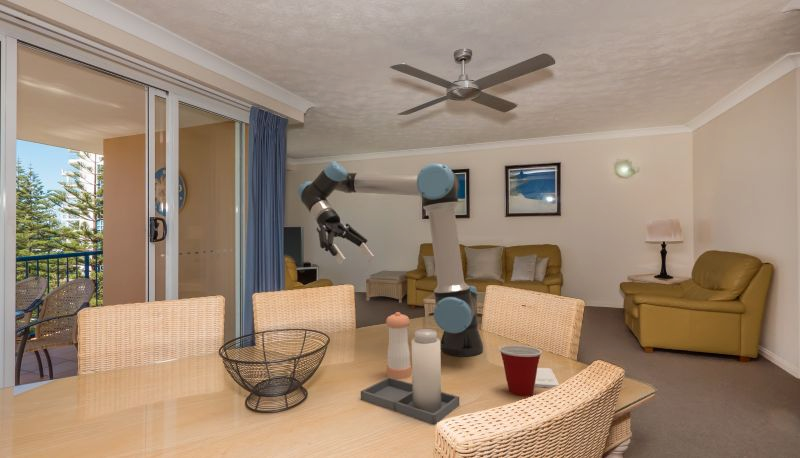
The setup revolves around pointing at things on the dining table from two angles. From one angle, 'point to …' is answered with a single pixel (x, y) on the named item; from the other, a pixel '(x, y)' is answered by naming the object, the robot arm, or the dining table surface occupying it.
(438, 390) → the salt shaker
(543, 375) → the external hard drive
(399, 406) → the shaker caddy
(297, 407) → the dining table surface
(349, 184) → the robot arm
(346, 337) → the dining table surface
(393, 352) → the pepper shaker
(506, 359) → the plastic cup
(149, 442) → the dining table surface
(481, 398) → the dining table surface
